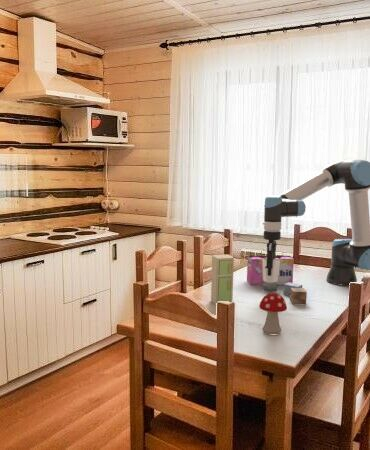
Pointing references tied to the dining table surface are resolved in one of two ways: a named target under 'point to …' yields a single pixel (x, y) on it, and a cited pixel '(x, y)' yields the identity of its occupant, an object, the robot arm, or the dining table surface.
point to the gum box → (257, 270)
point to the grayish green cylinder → (270, 286)
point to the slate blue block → (290, 285)
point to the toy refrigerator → (222, 278)
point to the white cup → (275, 268)
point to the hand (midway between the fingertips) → (270, 279)
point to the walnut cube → (298, 295)
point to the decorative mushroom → (272, 312)
